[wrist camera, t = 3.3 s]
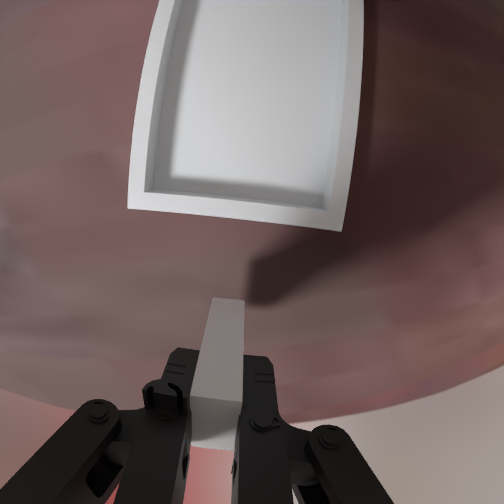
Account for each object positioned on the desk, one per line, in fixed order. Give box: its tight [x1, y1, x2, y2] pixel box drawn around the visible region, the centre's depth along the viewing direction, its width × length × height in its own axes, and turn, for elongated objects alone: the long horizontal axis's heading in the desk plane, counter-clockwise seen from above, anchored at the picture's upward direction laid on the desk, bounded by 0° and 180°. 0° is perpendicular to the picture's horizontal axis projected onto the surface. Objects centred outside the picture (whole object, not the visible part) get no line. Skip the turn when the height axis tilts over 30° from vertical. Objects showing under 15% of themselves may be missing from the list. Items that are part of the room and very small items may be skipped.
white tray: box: [128, 0, 364, 232], centre depth 12 cm, size 10×14×2 cm
